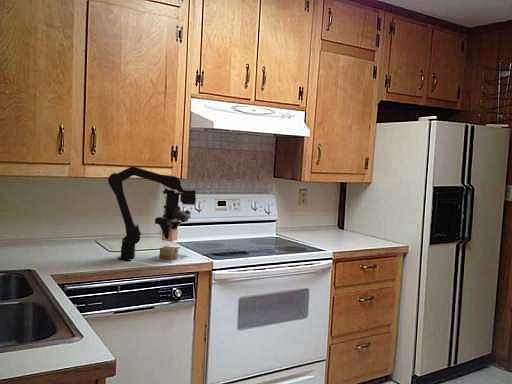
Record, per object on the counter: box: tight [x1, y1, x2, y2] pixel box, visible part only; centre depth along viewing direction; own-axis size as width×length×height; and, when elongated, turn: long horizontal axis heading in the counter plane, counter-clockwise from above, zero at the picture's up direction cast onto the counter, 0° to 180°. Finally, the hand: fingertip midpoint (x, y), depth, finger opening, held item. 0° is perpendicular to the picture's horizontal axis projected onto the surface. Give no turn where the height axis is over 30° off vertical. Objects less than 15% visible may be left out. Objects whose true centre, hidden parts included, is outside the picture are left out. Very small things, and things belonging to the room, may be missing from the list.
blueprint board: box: [146, 253, 190, 264], centre depth 225 cm, size 18×12×1 cm, turn 161°
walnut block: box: [158, 245, 179, 261], centre depth 223 cm, size 6×6×5 cm
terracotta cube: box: [161, 228, 179, 243], centre depth 222 cm, size 5×5×5 cm
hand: (169, 238), depth 222 cm, fingers closed on terracotta cube, 5 cm apart
